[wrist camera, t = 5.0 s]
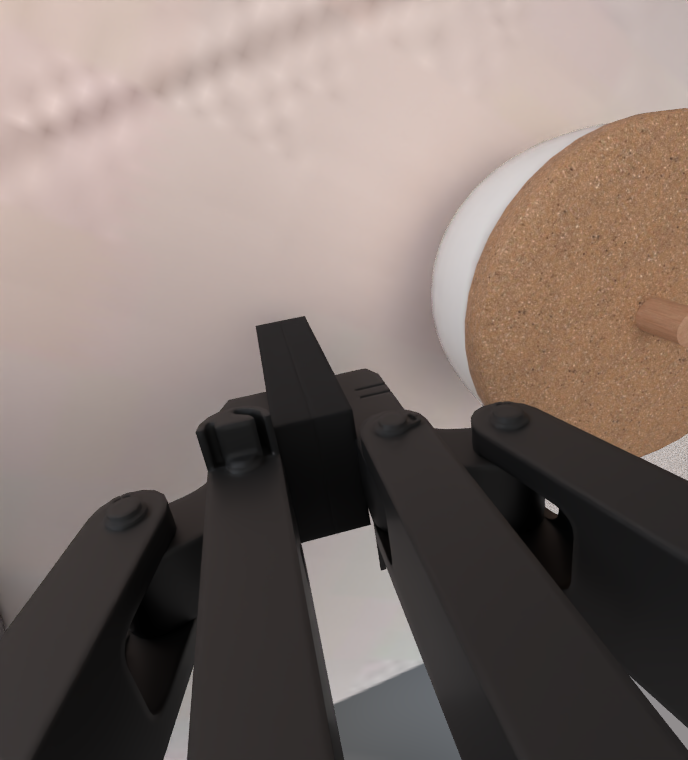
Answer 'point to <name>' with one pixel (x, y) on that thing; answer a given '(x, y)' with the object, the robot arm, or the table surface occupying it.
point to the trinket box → (577, 281)
